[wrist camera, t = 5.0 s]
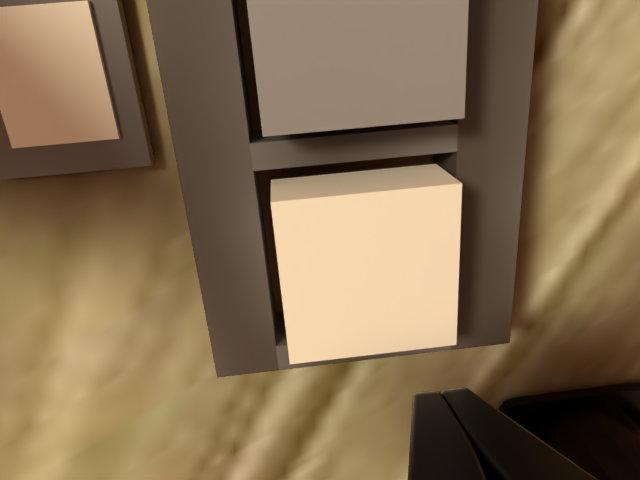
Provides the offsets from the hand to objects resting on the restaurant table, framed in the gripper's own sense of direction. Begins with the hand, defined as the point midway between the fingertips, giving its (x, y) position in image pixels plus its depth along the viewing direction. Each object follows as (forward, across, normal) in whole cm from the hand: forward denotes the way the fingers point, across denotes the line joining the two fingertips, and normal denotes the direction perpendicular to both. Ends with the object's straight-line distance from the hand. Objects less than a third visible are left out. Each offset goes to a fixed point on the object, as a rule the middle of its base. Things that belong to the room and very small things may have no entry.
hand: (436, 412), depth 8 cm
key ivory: (+7, 0, 0) cm, 7 cm away
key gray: (+7, 0, -6) cm, 9 cm away
